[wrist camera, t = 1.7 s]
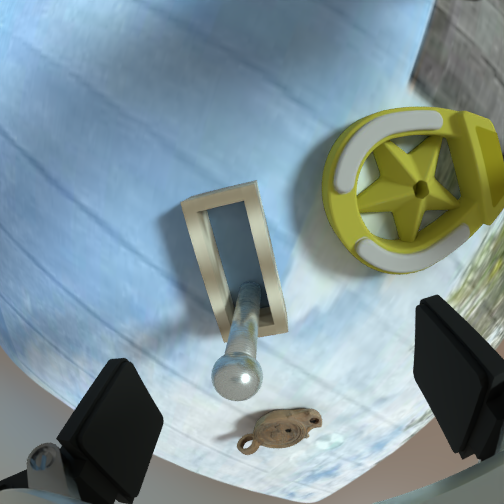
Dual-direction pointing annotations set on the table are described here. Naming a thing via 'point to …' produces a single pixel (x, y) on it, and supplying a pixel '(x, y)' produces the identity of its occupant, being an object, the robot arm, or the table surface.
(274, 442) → the oil lamp
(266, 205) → the table surface
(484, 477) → the robot arm
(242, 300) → the silver metal pin
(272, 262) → the link
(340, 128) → the table surface
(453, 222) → the yellow-green spoked oval frame
